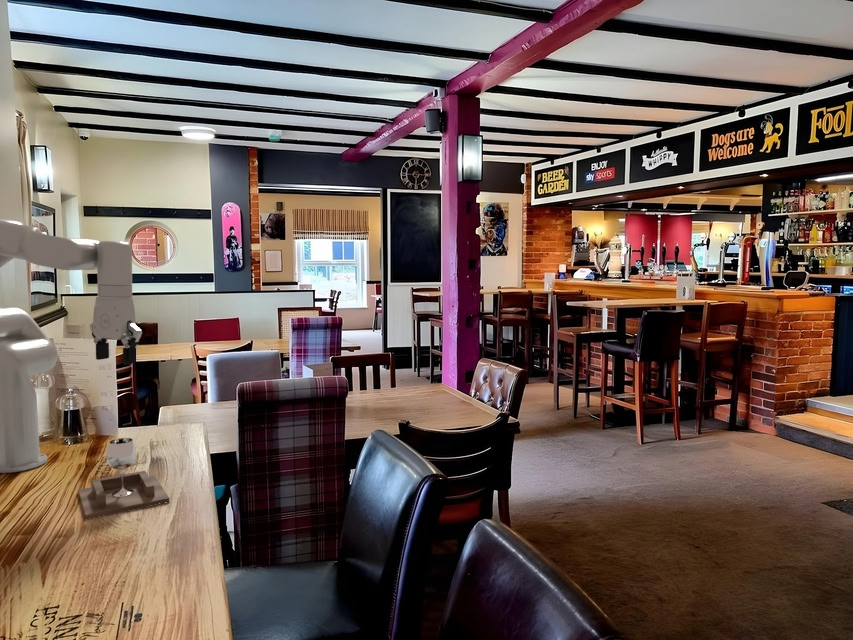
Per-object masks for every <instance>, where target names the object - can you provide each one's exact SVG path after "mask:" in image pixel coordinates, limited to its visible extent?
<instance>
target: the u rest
mask: <svg viewBox="0 0 853 640" xmlns="http://www.w3.org/2000/svg"><path fill="white" fill-rule="evenodd" d="M121 487H122V481H121V476H120V474H119V475H113V476H107V477H102V478H96V479H95V478H94V479H92V480H91V487H86V488H79V489H78V496H79V500H80V503H82V504H81V507H82V510H84V511H83V514H85V515H84V518H85V520H86V519H87V520H90V519H89V518H92V519H94V518H93V517H96V518H99V517H98V516H101V517H104V516H103V515H106V516H110V515H109V514H111V515H115V514H114V513H116V514H119V512H121V513H124V511H125V512H129V511H128V510H130V511H134V510H133V509H135V510H138V509H137V508H140V509H143V508H142V507H145V508H147V507H146V506H149V507H151V506H150V505H154V506H156V505H155V504H159V503H164V504H166V503H165V502H169V503H170V497H169V495H168V494H167V492H166V491H165V489H164V488H163V486H162V484H161V483H160V481H159V480H158V478H157V477H156V475H152V476H149V475H148V472H146V470H142V471H136V472H131V473H125V475H124V487H125V489H132V490H134V493H133V494H131V495H129V496H125V497H113V496H112V493H113V492H115V491H118V490H120V489H121ZM159 505H160V504H159Z"/></svg>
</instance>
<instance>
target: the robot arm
mask: <svg viewBox="0 0 853 640" xmlns="http://www.w3.org/2000/svg"><path fill="white" fill-rule="evenodd" d="M132 248H133V247H132V245H131V244H130V243H129V242H127V241H115V240H98V239H91V238H77V237H76V238H74V237H61V236H56V235H55V236H54V235H50V234H45V233H43V232H42V230H41V229H40V228H38V227H36V226H32V225H27V224H24V223H21V222H20V221H17V220H15V219H7V218H6V219H5V218H0V268H1V267H3V266H5V265H6V264H8V263H10V262H11V261H12V260H13V259H18V260H22V261H23V260H24V261H26V262H28V263H30V264H33V265H36V266H42V267H45V268H46V267H47V268H51V269H56V270H62V271H93V270H96V274H97V275H96V277H97V281H96V282H97V296H96V298H95V301H94V307H93V315H92V316H93V317H92V323H90V324H89V328H90V332H91V336H92V338H93V343H94V344H95V360H98V361H100V360H101V361H102V360H107V359H109V358H110V343H109V342H108V340H114V341H118V340H121V343H122V344H123V346H124V347H122V364H123V365H131V364H136V362H137V347H138V345H139V342H140V341H141V337H142V335H143V331H142V329H141V328H140V327H138V326H137V325H136V310H135V304H134V303H135V302H134V299H133V251H132V250H133V249H132ZM128 340H129V341H128ZM57 362H58V350H57V349H56V347H55V345H54V343H53V342H52V340H51V339H50V338H49V337H48V336H47V335H46V333H45V332H44V331H43V330H42V328H41V327H40V326H39V325H38V323H37V322H36V321H35V320H34V319H33V317H32V316H31V315H30V314H29V313H28V312H26V311H25V310H23V309H21V308H19V307H17V306H16V307H15V306H0V474H7V473H18V472H24V471H27V470H32V469H34V468H37V467H40V466H43V465H44V464H45V463H46V462H48V456H47V454H45V453H43V452H42V453H41V452H40V451H41V449H40V434H39V433H40V432H39V430H40V429H39V414H38V399H37V391H36V389H35V387H34V386H33V384H32V382H31V380H30V378H31V377H33V376H36V375H40V374H44V373H47V372H49V371H50V370H52V369H53V368H54V367H55V366H56V365H57ZM29 377H30V378H29Z"/></svg>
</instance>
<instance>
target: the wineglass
mask: <svg viewBox="0 0 853 640" xmlns="http://www.w3.org/2000/svg"><path fill="white" fill-rule="evenodd" d="M136 458H137V450H136V446H135V443H134V440H133V438H132V437H131V438H130V437H119V438H115V439H112V440H110V441H109V442H108V446H107V451H106V462H107V465H108V466H109V467H110V468H112V469H115V470H117V471H118V470H119V475H120V476H121V481H122V487H121V489H120V490H118V491H115V492H113V493H112V496H113V497H125V496H129V495H131V494H133V493H134V490H132V489H125V487H124V475H125V474H126V472H125V470H126V469H128V468H130V467H132V465H134V464H135V462H136Z"/></svg>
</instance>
